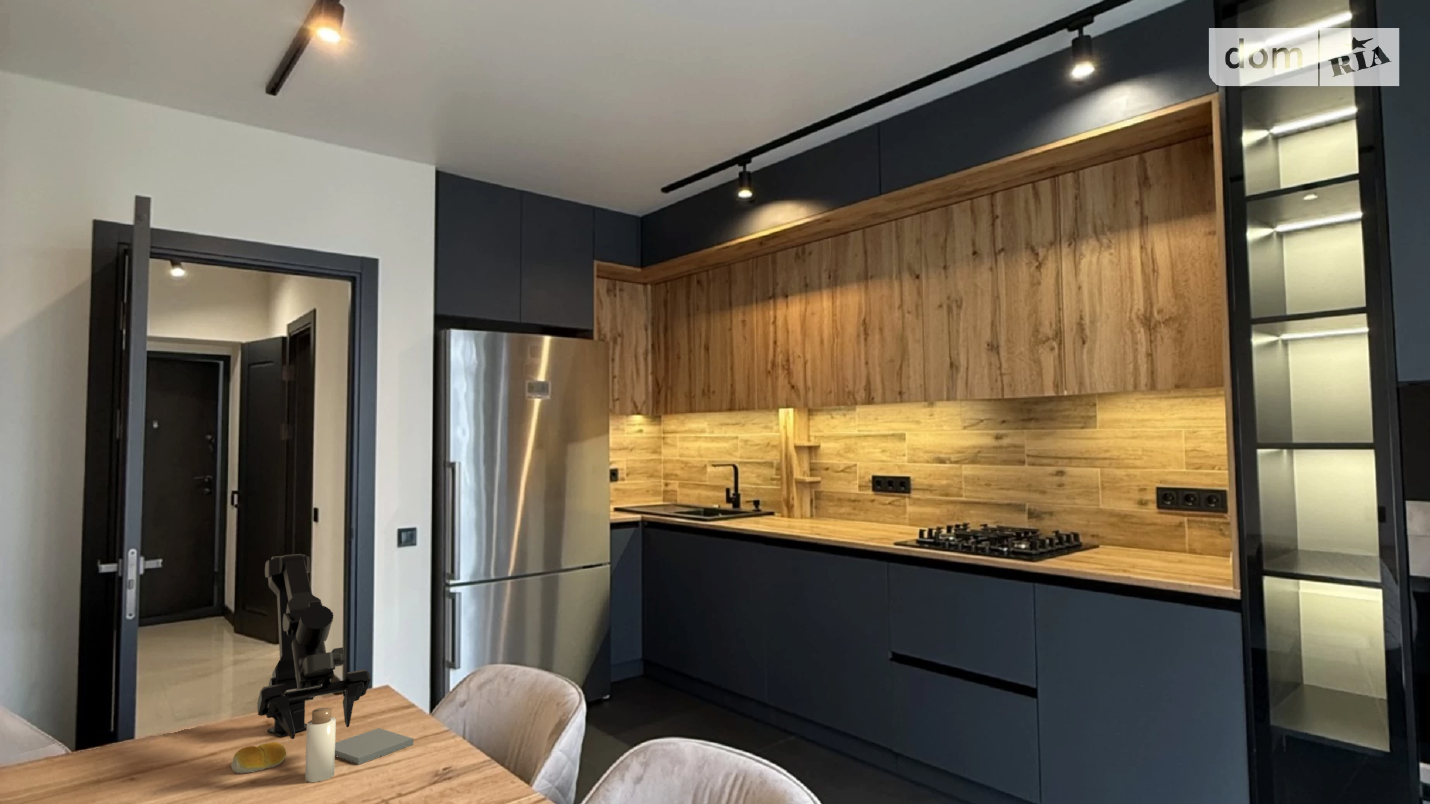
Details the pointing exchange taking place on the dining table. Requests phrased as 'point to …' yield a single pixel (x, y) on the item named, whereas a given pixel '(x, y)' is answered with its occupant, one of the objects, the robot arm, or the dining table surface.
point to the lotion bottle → (320, 746)
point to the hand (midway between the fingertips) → (321, 731)
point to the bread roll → (258, 757)
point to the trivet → (371, 745)
